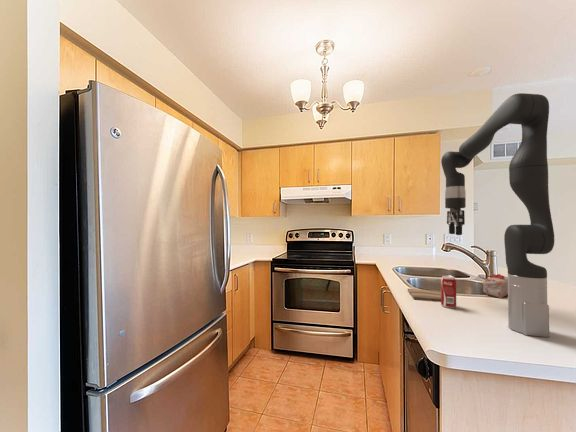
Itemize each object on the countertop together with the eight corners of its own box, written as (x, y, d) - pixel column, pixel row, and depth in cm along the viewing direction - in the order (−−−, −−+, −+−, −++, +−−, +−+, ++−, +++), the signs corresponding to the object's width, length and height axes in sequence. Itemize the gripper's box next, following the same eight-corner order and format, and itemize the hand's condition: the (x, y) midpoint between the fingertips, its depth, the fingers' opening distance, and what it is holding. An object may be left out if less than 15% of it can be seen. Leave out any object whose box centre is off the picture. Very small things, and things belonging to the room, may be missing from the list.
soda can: (442, 303, 110) (442, 274, 110) (457, 306, 106) (456, 276, 107) (440, 306, 106) (439, 276, 106) (455, 309, 102) (455, 278, 103)
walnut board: (452, 302, 111) (452, 299, 111) (414, 299, 115) (414, 296, 115) (441, 293, 126) (441, 290, 126) (407, 290, 130) (407, 288, 130)
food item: (503, 299, 116) (502, 277, 116) (481, 295, 123) (481, 274, 123) (513, 295, 124) (512, 274, 124) (492, 291, 130) (492, 271, 131)
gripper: (471, 195, 107) (471, 235, 107) (458, 198, 121) (459, 233, 121) (451, 196, 109) (451, 235, 109) (440, 198, 123) (440, 233, 123)
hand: (455, 234), depth 115 cm, fingers open, 8 cm apart
